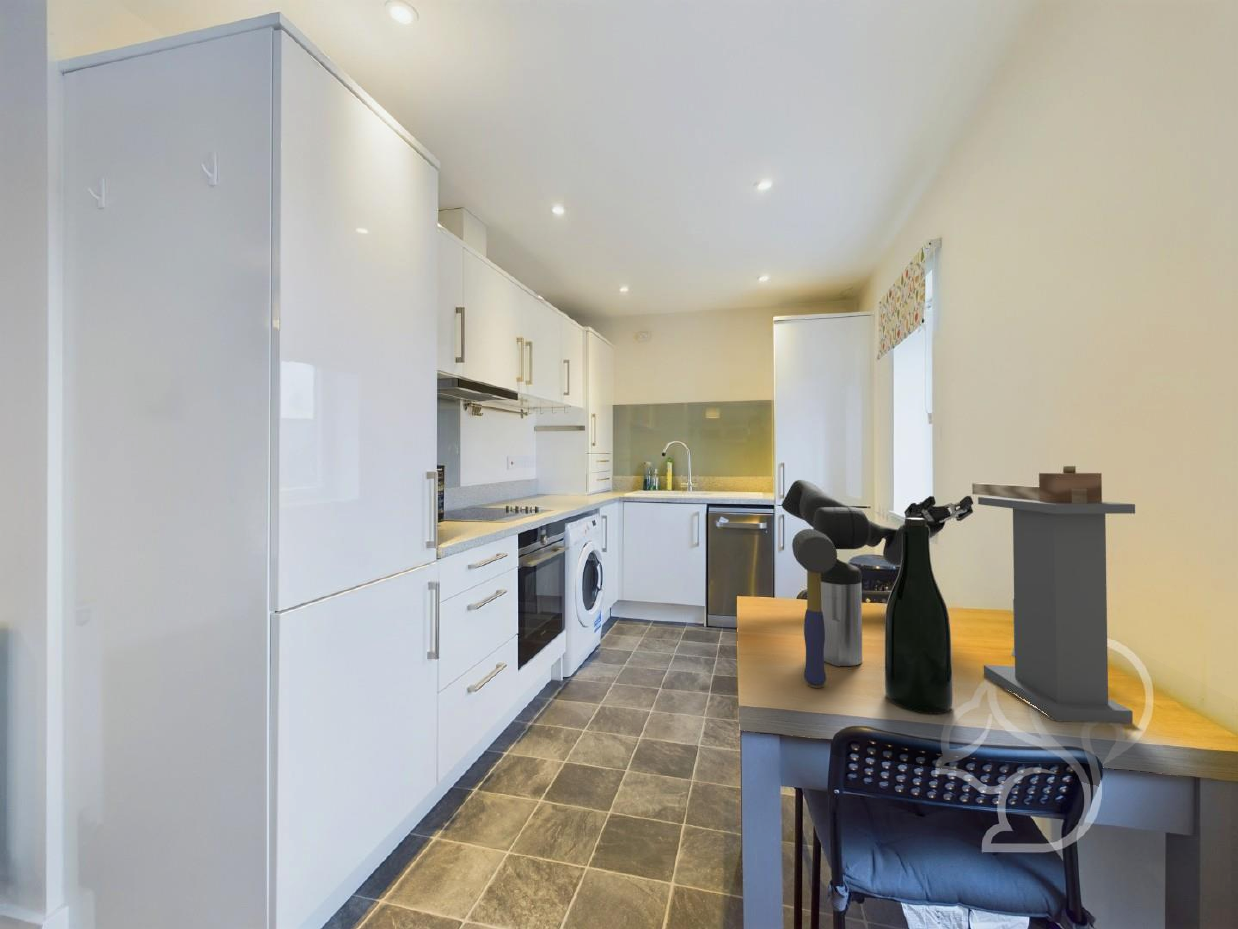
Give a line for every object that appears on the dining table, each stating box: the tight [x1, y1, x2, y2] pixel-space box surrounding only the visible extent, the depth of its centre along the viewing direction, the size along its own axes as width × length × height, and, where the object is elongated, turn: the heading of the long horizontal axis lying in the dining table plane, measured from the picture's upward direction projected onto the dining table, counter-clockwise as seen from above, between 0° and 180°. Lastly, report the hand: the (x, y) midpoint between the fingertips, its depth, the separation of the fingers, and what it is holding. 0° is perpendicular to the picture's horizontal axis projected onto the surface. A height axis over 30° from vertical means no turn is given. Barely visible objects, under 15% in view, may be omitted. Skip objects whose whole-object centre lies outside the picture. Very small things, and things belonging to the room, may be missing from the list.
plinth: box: [977, 496, 1136, 724], centre depth 91 cm, size 20×12×36 cm, turn 175°
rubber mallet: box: [791, 528, 838, 689], centre depth 96 cm, size 12×8×30 cm, turn 166°
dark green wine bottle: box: [884, 517, 954, 714], centre depth 89 cm, size 10×10×33 cm
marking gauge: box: [971, 465, 1103, 503], centre depth 97 cm, size 27×7×6 cm, turn 175°
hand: (951, 499), depth 121 cm, fingers open, 8 cm apart
